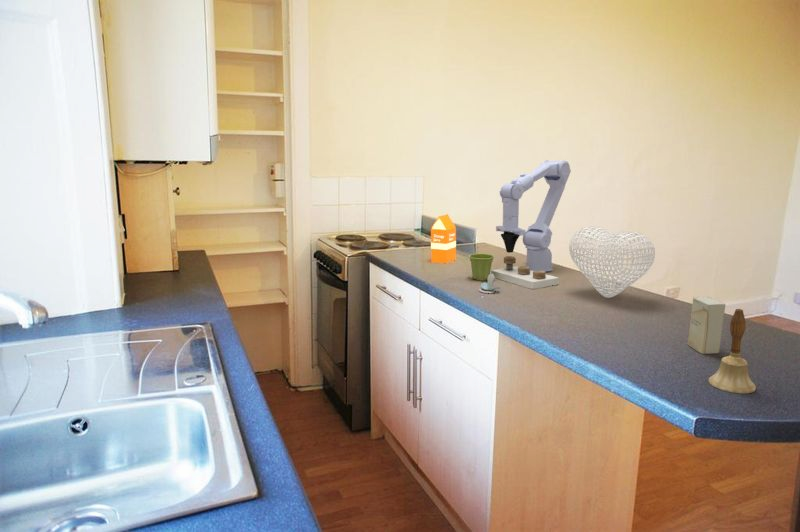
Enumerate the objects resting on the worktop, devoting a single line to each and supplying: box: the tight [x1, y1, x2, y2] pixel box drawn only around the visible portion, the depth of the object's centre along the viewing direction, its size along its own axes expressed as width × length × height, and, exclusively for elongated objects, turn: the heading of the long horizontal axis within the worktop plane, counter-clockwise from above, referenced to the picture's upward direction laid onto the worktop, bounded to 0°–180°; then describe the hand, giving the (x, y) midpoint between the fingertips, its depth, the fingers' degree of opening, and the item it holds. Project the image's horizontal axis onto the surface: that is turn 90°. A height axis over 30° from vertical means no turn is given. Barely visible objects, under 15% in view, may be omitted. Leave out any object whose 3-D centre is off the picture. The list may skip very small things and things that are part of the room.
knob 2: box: [533, 270, 546, 279], centre depth 195 cm, size 4×4×5 cm
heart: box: [568, 225, 656, 299], centre depth 175 cm, size 28×16×22 cm, turn 31°
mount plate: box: [490, 266, 560, 290], centre depth 202 cm, size 12×23×2 cm, turn 29°
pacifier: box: [478, 273, 501, 295], centre depth 187 cm, size 7×6×6 cm
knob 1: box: [503, 255, 517, 270], centre depth 208 cm, size 4×4×5 cm
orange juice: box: [430, 213, 457, 264], centre depth 238 cm, size 8×9×20 cm
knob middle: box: [518, 265, 530, 275], centre depth 202 cm, size 4×4×5 cm
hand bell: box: [708, 308, 757, 395], centre depth 110 cm, size 8×8×16 cm
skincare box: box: [687, 296, 726, 355], centre depth 130 cm, size 6×4×12 cm
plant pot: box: [468, 253, 495, 281], centre depth 206 cm, size 9×9×9 cm
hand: (509, 252), depth 207 cm, fingers closed
